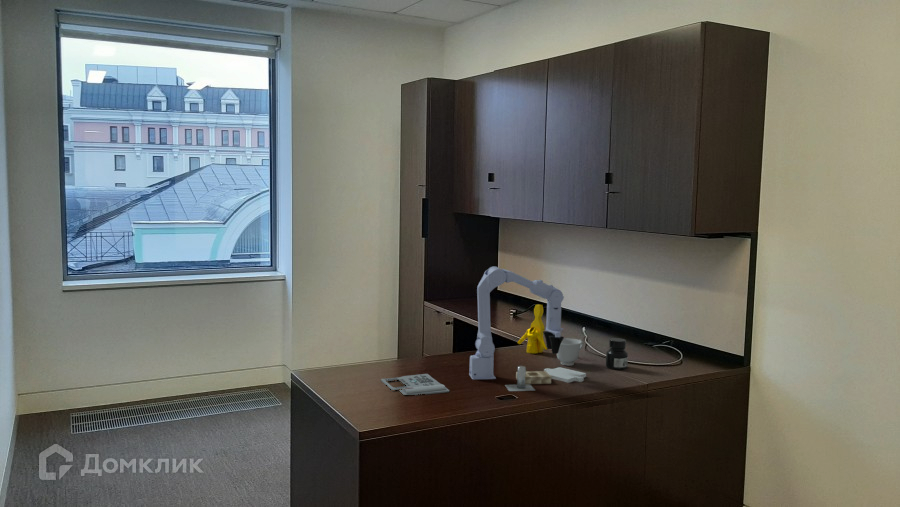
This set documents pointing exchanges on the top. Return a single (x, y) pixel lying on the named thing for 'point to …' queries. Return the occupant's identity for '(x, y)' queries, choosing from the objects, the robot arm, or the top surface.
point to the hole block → (537, 377)
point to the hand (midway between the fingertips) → (552, 351)
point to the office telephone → (417, 385)
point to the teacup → (569, 351)
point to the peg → (521, 377)
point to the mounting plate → (565, 374)
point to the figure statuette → (535, 333)
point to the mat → (514, 388)
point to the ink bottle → (617, 354)
